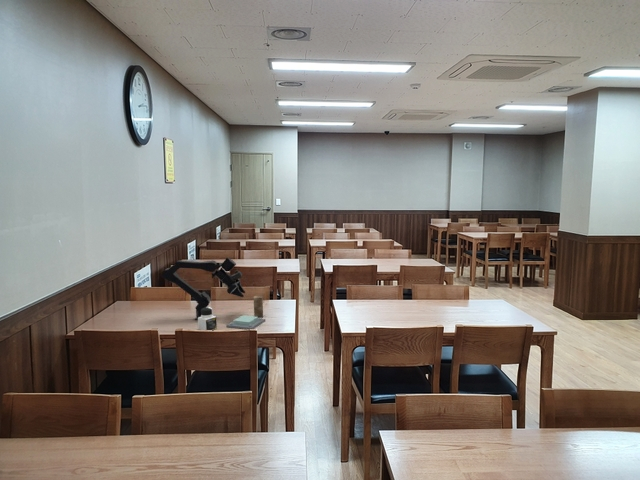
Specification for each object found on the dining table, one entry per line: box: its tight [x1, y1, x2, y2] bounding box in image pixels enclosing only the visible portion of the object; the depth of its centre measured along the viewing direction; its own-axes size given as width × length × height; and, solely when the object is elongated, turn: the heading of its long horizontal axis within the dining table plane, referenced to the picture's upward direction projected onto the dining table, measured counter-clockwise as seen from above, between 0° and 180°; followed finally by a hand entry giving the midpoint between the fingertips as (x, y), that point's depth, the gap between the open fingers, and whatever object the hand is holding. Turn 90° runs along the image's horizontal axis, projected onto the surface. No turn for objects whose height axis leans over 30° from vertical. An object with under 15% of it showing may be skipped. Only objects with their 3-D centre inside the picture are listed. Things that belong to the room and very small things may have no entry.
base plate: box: [225, 314, 266, 330], centre depth 248 cm, size 16×16×3 cm
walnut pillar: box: [253, 295, 264, 319], centre depth 262 cm, size 5×5×12 cm
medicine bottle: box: [197, 306, 218, 331], centre depth 240 cm, size 7×7×12 cm
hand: (244, 294), depth 260 cm, fingers open, 9 cm apart
